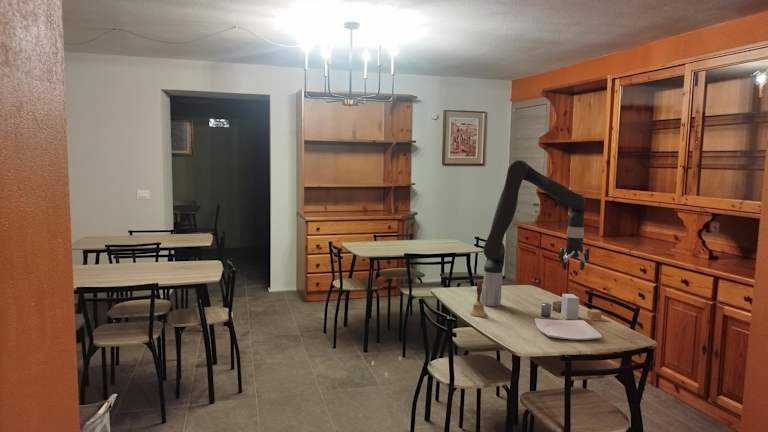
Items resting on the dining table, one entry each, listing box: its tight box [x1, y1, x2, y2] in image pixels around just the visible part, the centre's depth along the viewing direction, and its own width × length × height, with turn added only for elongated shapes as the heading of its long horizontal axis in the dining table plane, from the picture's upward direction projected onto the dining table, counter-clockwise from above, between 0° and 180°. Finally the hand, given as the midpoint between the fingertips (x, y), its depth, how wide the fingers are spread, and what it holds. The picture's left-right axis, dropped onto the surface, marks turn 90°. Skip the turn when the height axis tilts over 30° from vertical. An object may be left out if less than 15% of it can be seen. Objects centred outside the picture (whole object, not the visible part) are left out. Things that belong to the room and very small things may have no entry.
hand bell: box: [469, 281, 488, 318], centre depth 246 cm, size 8×8×16 cm
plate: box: [534, 318, 603, 341], centre depth 224 cm, size 24×24×3 cm
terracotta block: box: [586, 309, 603, 321], centre depth 245 cm, size 5×4×4 cm
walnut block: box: [552, 300, 562, 314], centre depth 256 cm, size 4×4×4 cm
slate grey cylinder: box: [540, 302, 552, 319], centre depth 247 cm, size 4×4×6 cm
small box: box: [560, 293, 580, 320], centre depth 246 cm, size 8×6×10 cm
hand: (572, 269), depth 247 cm, fingers open, 8 cm apart
